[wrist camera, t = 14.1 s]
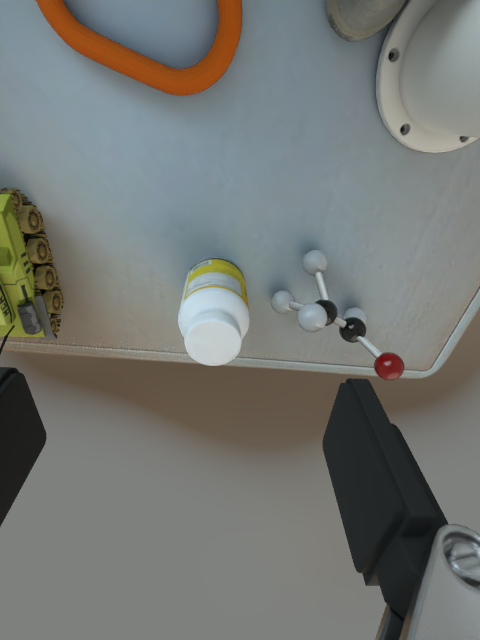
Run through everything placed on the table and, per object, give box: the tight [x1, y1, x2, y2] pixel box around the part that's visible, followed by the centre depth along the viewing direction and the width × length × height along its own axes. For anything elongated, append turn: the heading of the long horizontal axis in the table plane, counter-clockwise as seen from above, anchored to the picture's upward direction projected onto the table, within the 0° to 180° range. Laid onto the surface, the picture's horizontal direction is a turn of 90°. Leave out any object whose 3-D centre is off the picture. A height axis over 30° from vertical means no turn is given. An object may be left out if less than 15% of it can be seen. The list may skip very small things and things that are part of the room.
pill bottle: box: [178, 257, 250, 366], centre depth 32 cm, size 6×6×12 cm
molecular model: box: [271, 250, 404, 380], centre depth 34 cm, size 8×12×11 cm
